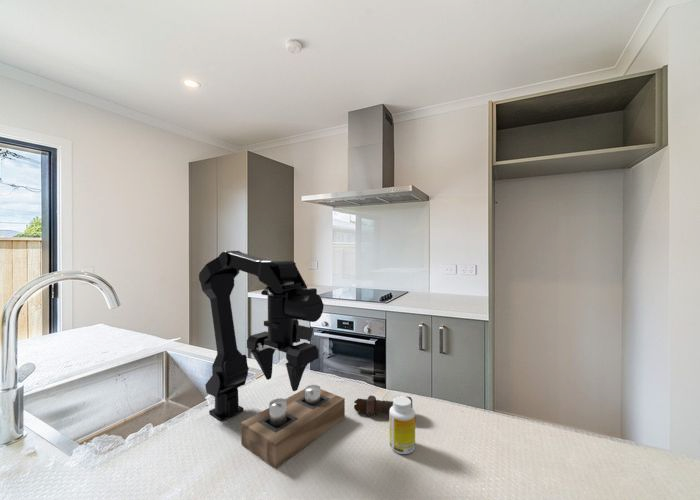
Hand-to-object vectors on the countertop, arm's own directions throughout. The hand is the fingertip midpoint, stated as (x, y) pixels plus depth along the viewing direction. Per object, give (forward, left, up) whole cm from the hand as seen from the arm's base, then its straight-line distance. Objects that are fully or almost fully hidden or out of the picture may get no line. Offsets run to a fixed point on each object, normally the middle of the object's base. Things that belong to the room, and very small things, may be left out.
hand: (281, 384), depth 66 cm
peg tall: (0, -1, -9) cm, 9 cm away
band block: (0, +5, -13) cm, 14 cm away
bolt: (+13, +23, -13) cm, 30 cm away
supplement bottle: (+23, +15, -13) cm, 30 cm away
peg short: (0, +10, -10) cm, 14 cm away
